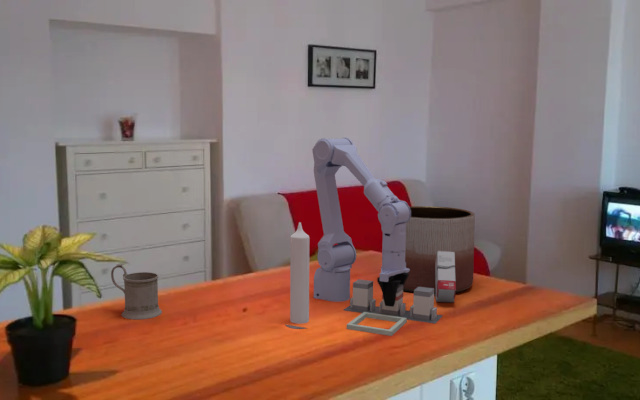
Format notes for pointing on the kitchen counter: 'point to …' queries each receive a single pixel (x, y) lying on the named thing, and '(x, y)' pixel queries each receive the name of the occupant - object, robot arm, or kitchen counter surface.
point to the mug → (139, 294)
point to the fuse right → (423, 303)
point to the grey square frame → (390, 332)
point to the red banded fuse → (396, 308)
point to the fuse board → (403, 312)
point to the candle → (299, 278)
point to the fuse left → (362, 294)
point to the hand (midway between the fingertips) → (392, 303)
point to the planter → (439, 245)
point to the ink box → (445, 276)
